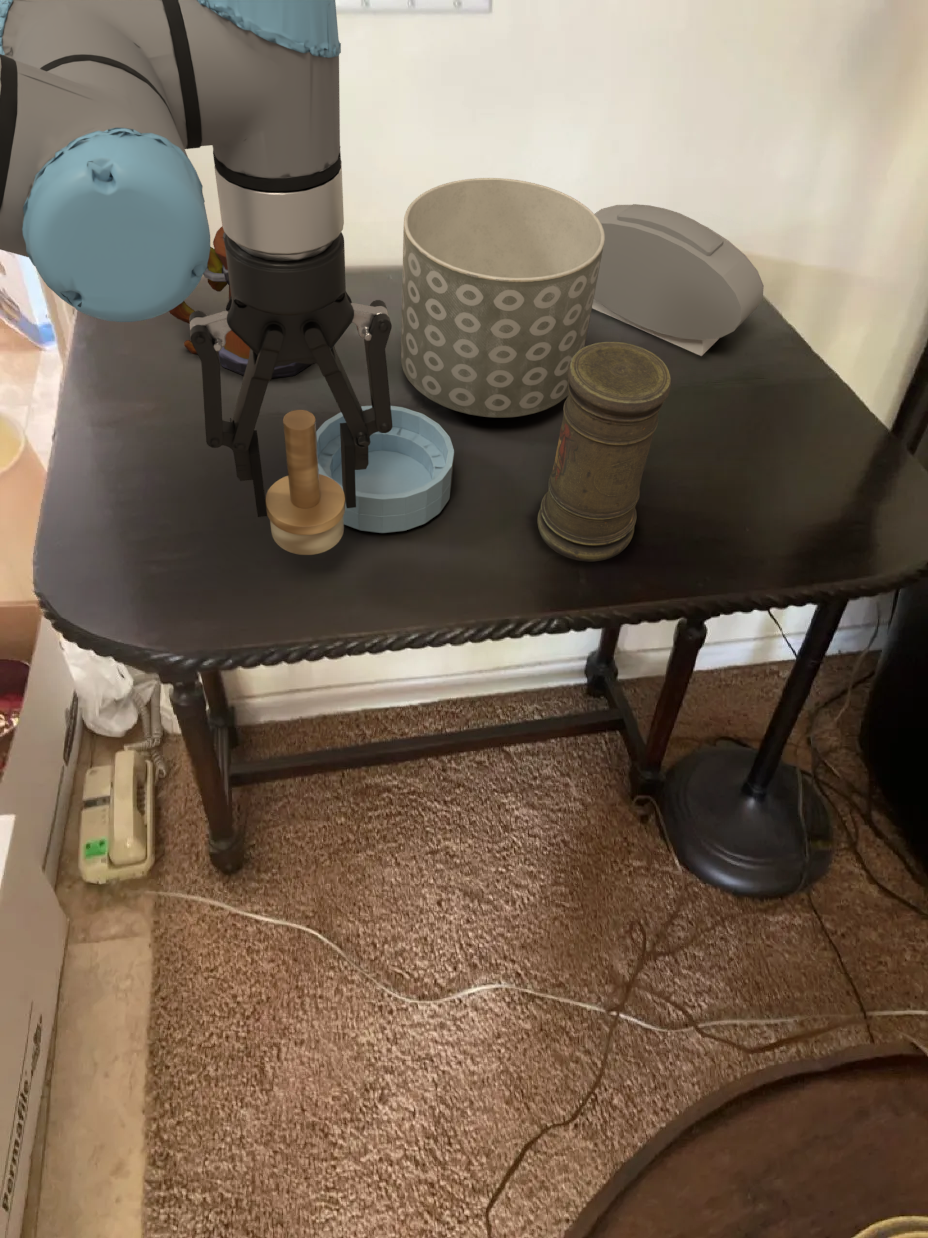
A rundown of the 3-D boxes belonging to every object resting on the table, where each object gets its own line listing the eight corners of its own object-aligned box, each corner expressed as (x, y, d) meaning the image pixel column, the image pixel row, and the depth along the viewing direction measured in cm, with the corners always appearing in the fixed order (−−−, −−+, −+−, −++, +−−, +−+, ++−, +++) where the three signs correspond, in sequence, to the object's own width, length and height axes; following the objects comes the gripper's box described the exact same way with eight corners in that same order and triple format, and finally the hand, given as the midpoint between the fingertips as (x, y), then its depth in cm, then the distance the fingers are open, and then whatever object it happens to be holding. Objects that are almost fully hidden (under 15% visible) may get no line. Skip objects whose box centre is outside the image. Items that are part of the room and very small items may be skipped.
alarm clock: (747, 347, 113) (782, 244, 103) (724, 370, 110) (758, 267, 100) (578, 274, 121) (596, 172, 111) (552, 294, 117) (568, 191, 108)
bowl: (321, 545, 88) (318, 505, 84) (305, 451, 96) (302, 410, 92) (463, 531, 90) (467, 491, 86) (435, 440, 98) (438, 400, 94)
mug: (149, 386, 101) (120, 252, 89) (155, 323, 108) (129, 191, 96) (324, 381, 103) (317, 249, 92) (318, 320, 110) (311, 191, 99)
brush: (272, 561, 78) (259, 451, 70) (265, 507, 82) (252, 396, 74) (351, 552, 80) (347, 443, 71) (340, 499, 84) (336, 390, 75)
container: (647, 522, 93) (694, 363, 79) (604, 578, 87) (647, 419, 74) (565, 484, 95) (597, 324, 82) (519, 536, 90) (545, 375, 76)
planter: (581, 347, 111) (610, 192, 97) (567, 453, 98) (598, 292, 84) (417, 323, 111) (423, 166, 98) (384, 425, 99) (385, 261, 85)
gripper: (423, 196, 65) (414, 459, 83) (124, 207, 61) (181, 481, 79) (446, 254, 60) (431, 520, 78) (123, 271, 57) (184, 546, 74)
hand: (305, 500), depth 78 cm, fingers closed on brush, 6 cm apart
